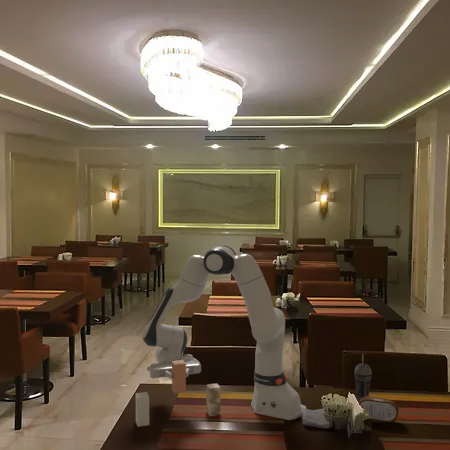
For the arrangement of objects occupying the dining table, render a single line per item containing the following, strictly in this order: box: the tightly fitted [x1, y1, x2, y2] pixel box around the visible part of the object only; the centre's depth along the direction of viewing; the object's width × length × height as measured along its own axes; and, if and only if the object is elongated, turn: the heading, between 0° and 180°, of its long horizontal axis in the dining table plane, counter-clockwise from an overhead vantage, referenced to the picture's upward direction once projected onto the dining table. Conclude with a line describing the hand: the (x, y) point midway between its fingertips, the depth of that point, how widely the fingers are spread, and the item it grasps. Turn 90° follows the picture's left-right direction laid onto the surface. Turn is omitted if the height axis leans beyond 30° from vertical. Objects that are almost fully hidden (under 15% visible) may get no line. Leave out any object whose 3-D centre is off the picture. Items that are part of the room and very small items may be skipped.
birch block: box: [206, 382, 222, 417], centre depth 203 cm, size 4×4×11 cm
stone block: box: [300, 408, 331, 429], centre depth 195 cm, size 12×5×10 cm
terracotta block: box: [171, 360, 187, 394], centre depth 198 cm, size 4×4×11 cm
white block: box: [135, 391, 150, 428], centre depth 194 cm, size 4×4×11 cm
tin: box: [357, 395, 400, 423], centre depth 198 cm, size 15×3×8 cm, turn 71°
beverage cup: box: [353, 353, 373, 402], centre depth 215 cm, size 7×7×20 cm
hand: (179, 375), depth 197 cm, fingers closed on terracotta block, 4 cm apart
